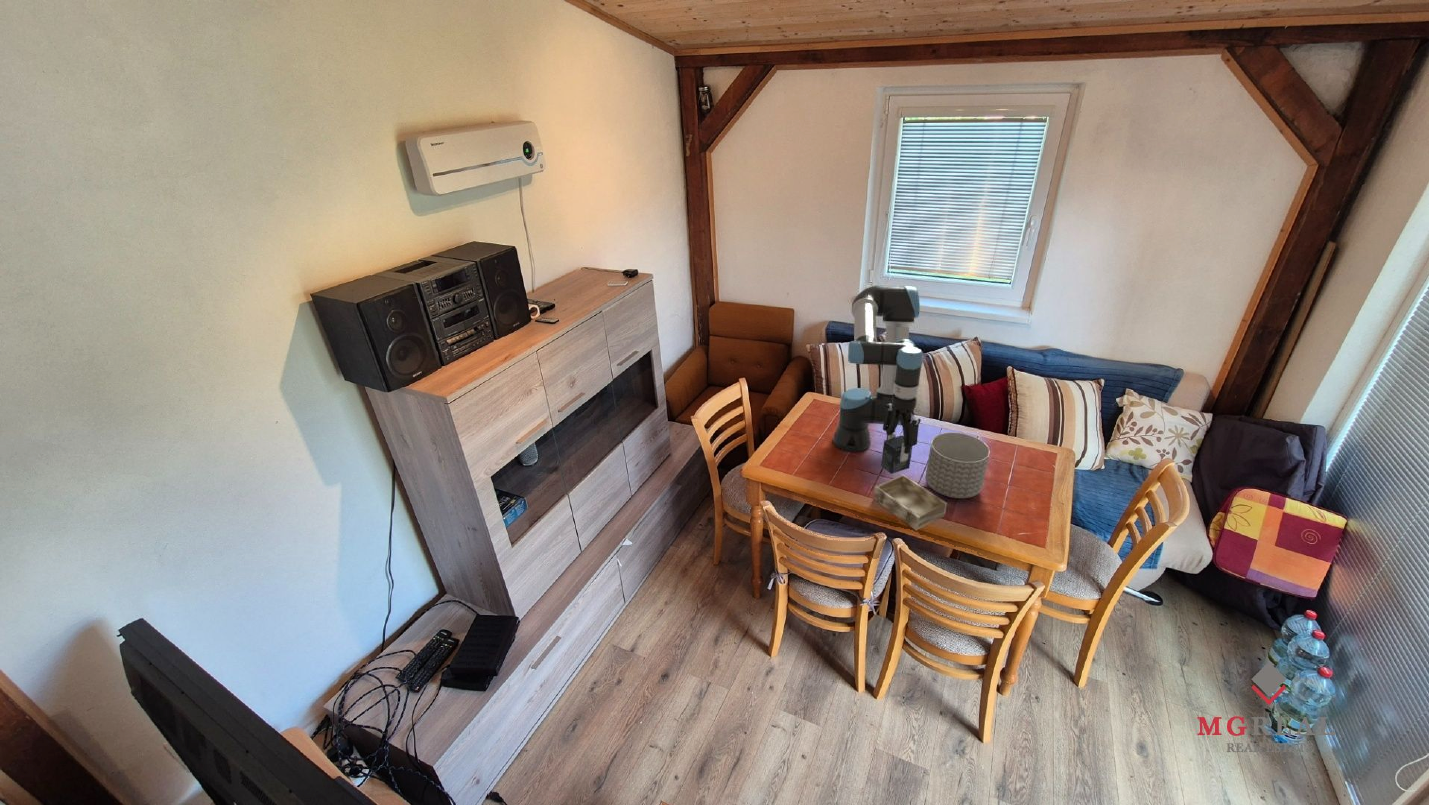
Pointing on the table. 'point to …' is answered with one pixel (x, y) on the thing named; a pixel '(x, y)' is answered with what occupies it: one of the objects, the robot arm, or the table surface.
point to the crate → (910, 501)
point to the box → (894, 455)
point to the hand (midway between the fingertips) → (896, 455)
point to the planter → (957, 465)
